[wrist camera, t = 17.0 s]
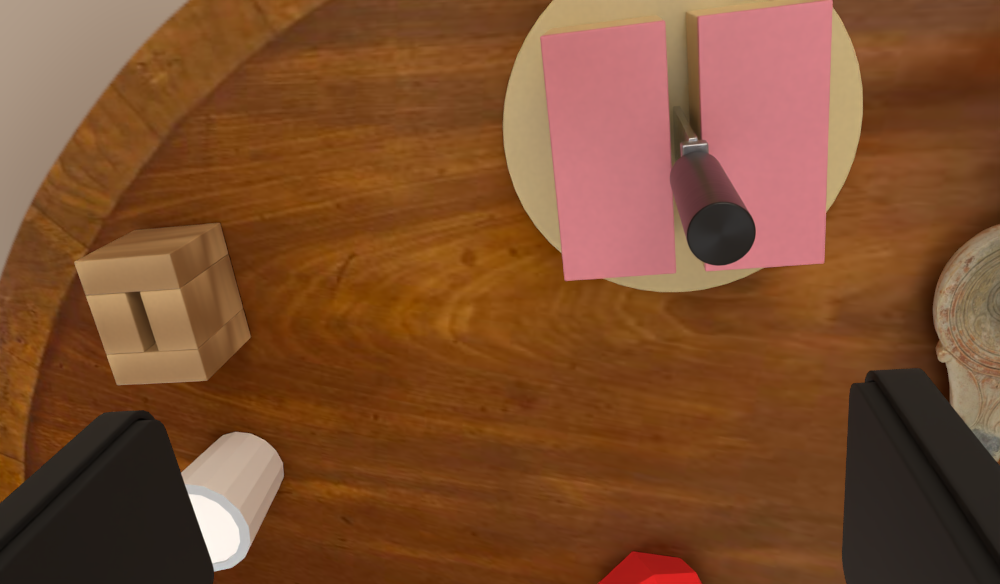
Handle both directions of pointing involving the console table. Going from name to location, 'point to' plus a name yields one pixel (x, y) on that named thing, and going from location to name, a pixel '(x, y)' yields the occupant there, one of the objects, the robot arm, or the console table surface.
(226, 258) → the knife block
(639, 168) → the cake
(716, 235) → the knife
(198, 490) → the white cylinder
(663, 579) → the apple
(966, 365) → the oil lamp
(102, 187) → the console table surface
